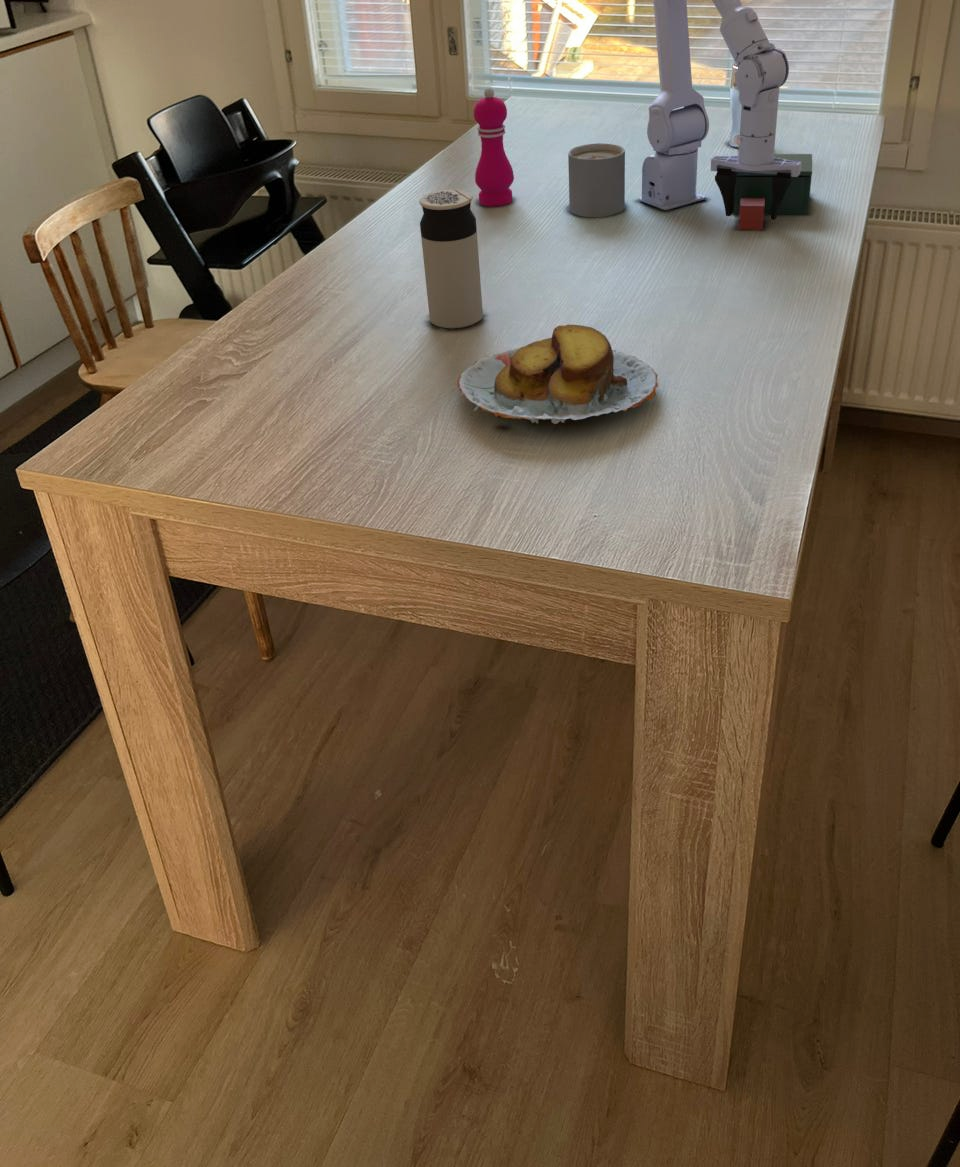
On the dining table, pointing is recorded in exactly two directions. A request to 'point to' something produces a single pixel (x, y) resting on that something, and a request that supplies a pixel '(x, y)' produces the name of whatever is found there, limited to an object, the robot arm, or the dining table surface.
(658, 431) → the dining table surface
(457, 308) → the travel mug
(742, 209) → the block
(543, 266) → the dining table surface
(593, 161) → the coffee mug
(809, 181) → the bin
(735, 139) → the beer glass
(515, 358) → the food on plate
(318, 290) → the dining table surface
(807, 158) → the bin lid
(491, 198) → the pepper mill
